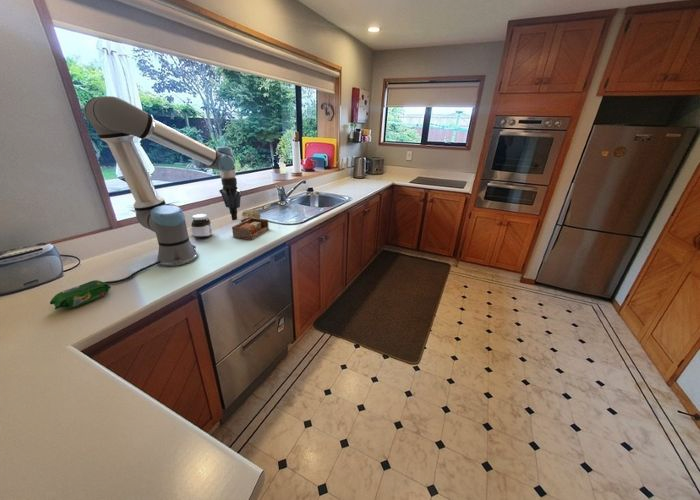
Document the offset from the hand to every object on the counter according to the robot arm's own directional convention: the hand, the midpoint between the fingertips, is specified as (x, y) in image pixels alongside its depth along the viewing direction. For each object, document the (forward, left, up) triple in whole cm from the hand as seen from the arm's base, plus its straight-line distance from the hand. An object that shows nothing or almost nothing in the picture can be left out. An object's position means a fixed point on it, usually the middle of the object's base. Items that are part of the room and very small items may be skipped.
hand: (234, 219), depth 159 cm
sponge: (+18, +3, -7) cm, 19 cm away
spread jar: (-13, +13, -7) cm, 19 cm away
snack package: (-76, +4, -7) cm, 77 cm away
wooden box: (0, -10, -7) cm, 12 cm away
